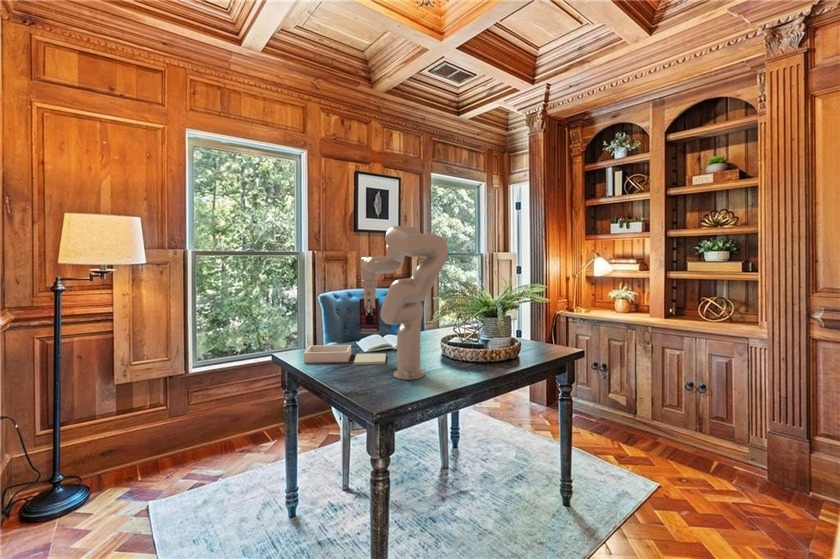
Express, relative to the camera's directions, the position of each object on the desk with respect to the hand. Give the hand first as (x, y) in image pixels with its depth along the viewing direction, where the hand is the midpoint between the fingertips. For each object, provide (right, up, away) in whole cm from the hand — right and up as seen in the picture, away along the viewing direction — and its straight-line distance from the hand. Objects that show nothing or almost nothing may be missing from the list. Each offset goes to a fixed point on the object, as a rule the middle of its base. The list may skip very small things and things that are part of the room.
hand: (369, 322), depth 189 cm
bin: (-20, -17, +5) cm, 27 cm away
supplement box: (0, -5, 0) cm, 5 cm away
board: (0, -18, +1) cm, 18 cm away
